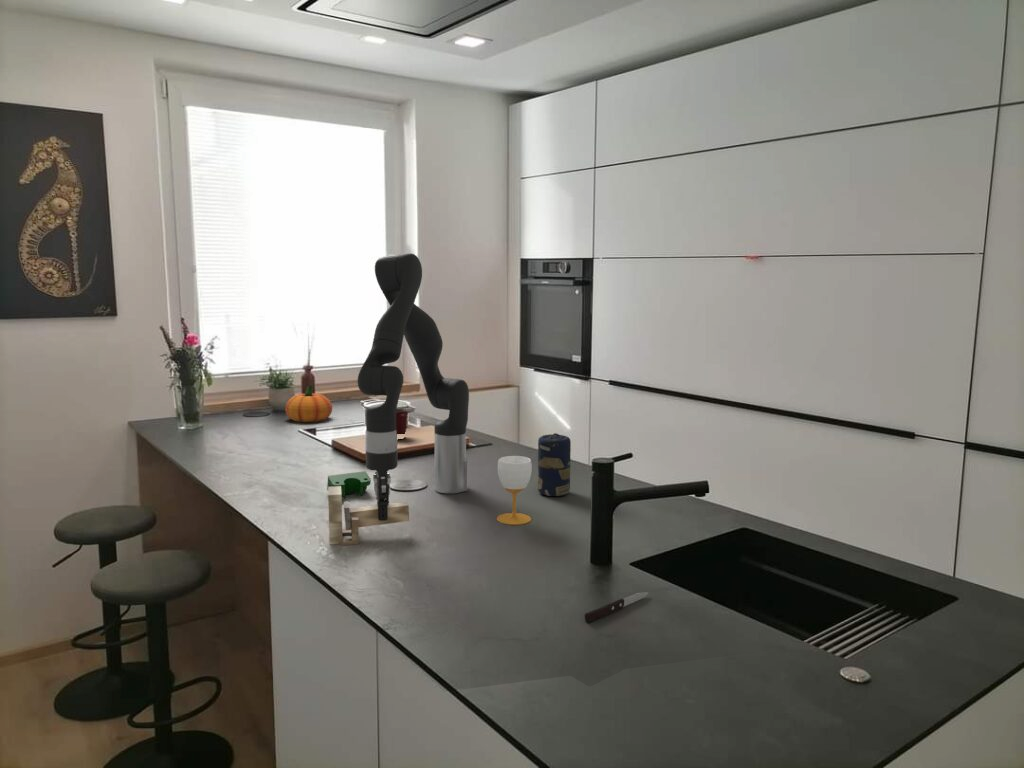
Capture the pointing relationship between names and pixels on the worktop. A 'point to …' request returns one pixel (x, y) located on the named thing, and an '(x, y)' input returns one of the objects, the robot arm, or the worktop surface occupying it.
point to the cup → (514, 484)
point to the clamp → (350, 482)
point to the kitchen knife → (612, 607)
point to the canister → (554, 464)
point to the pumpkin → (308, 407)
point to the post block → (340, 520)
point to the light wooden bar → (376, 514)
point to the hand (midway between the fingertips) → (382, 517)
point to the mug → (401, 421)
